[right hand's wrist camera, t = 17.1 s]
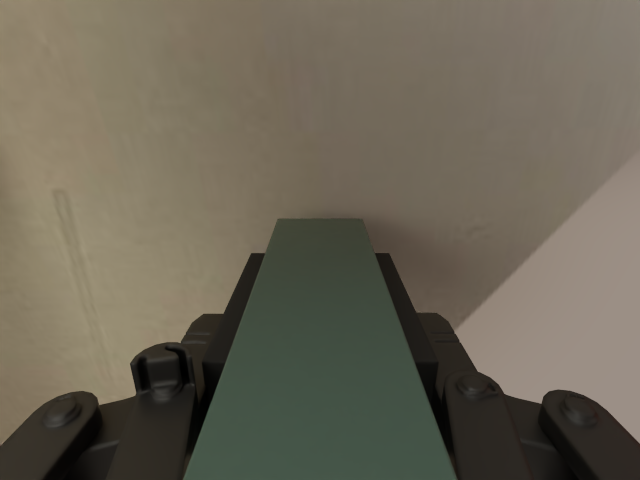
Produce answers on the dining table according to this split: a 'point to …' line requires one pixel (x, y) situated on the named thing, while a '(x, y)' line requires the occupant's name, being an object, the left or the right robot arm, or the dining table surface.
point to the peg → (320, 372)
